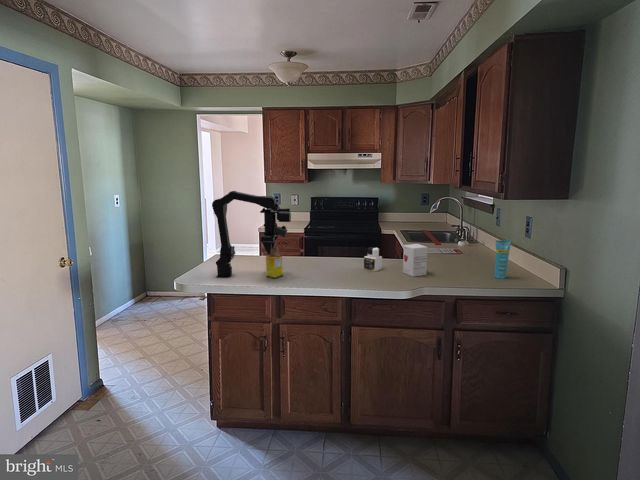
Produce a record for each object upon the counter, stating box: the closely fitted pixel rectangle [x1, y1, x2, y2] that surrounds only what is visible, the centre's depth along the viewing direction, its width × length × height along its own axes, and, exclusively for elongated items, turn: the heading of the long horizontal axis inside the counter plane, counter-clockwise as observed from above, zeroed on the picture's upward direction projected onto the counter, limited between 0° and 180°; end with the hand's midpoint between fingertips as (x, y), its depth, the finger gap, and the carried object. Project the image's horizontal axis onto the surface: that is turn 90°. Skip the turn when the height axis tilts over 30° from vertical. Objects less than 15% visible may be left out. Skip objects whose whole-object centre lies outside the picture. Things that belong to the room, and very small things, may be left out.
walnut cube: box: [268, 246, 280, 257], centre depth 207 cm, size 4×4×4 cm
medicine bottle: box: [363, 246, 383, 272], centre depth 222 cm, size 7×7×12 cm
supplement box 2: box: [402, 243, 429, 278], centre depth 213 cm, size 9×9×15 cm
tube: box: [494, 239, 512, 280], centre depth 205 cm, size 7×5×19 cm, turn 92°
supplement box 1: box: [265, 254, 283, 280], centre depth 209 cm, size 6×6×11 cm
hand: (270, 252), depth 207 cm, fingers open, 9 cm apart
